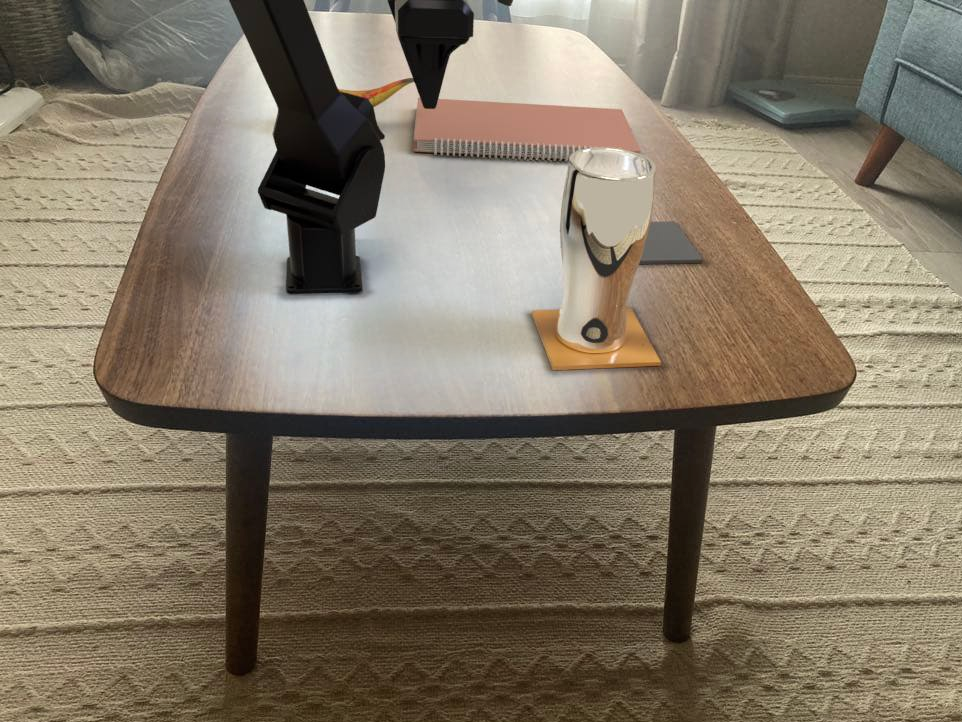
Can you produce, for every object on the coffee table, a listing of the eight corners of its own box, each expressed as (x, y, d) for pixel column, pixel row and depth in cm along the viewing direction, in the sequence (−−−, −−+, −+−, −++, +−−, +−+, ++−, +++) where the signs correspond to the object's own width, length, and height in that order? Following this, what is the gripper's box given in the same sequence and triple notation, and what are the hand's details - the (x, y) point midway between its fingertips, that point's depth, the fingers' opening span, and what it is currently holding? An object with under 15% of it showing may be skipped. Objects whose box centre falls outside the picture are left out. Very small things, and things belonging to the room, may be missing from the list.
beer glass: (531, 329, 78) (547, 156, 69) (590, 306, 82) (611, 140, 74) (590, 366, 74) (614, 187, 65) (648, 340, 78) (678, 168, 70)
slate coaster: (702, 263, 92) (702, 259, 92) (614, 264, 90) (615, 261, 90) (674, 224, 99) (674, 221, 99) (592, 225, 97) (592, 222, 97)
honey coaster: (660, 365, 76) (661, 361, 75) (552, 370, 74) (553, 366, 74) (630, 311, 83) (630, 307, 83) (531, 314, 81) (531, 310, 81)
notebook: (413, 156, 110) (413, 139, 108) (418, 110, 123) (418, 95, 122) (640, 168, 112) (642, 152, 111) (620, 121, 126) (622, 107, 125)
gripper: (541, -70, 73) (527, 127, 82) (502, -104, 88) (493, 66, 97) (397, -78, 71) (399, 125, 79) (382, -111, 85) (385, 63, 94)
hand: (424, 92), depth 88 cm, fingers open, 9 cm apart
